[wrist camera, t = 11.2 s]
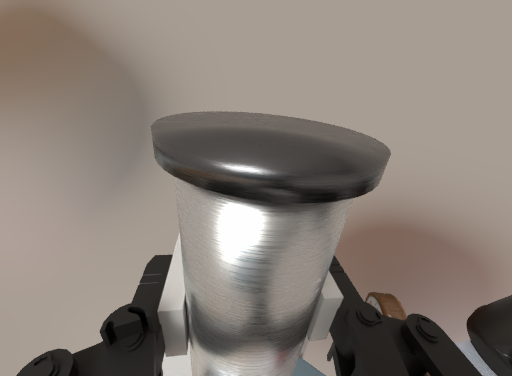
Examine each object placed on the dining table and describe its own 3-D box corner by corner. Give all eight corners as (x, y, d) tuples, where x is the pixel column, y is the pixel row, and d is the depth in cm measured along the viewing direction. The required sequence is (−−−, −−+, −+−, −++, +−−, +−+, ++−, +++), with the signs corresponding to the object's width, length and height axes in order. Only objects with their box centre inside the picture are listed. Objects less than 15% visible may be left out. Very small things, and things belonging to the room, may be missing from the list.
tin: (425, 468, 21) (473, 436, 17) (391, 458, 21) (431, 425, 17) (373, 317, 34) (394, 281, 30) (353, 313, 34) (371, 277, 31)
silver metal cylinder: (229, 333, 17) (243, 108, 9) (297, 385, 14) (392, 134, 7) (167, 420, 12) (94, 120, 5) (250, 519, 10) (383, 214, 2)
